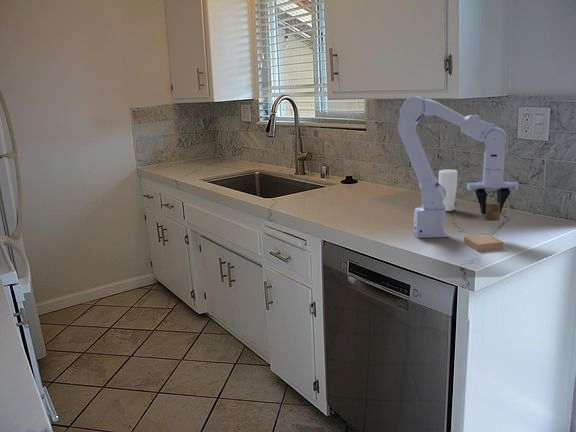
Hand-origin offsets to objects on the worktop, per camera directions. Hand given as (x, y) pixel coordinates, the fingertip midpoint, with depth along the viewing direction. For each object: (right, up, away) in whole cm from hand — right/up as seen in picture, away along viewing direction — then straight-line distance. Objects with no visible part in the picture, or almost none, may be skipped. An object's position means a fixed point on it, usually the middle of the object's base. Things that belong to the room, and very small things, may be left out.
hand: (490, 212), depth 157 cm
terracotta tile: (-4, -10, -4) cm, 12 cm away
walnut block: (0, -2, 0) cm, 2 cm away
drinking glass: (-1, +1, +39) cm, 39 cm away
